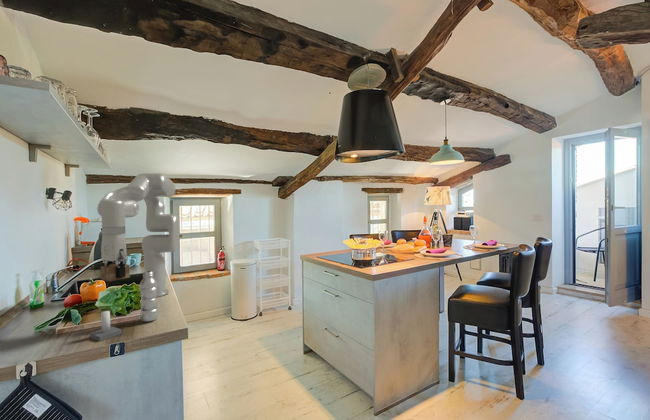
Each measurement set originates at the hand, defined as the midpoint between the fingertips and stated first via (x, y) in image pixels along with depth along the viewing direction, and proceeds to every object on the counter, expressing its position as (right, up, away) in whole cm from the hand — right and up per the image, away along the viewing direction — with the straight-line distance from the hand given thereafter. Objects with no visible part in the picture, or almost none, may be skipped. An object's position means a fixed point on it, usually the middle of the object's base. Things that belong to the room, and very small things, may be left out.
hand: (115, 276), depth 119 cm
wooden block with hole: (0, -1, 0) cm, 1 cm away
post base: (+3, -19, -10) cm, 22 cm away
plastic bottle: (+11, -19, +4) cm, 22 cm away
